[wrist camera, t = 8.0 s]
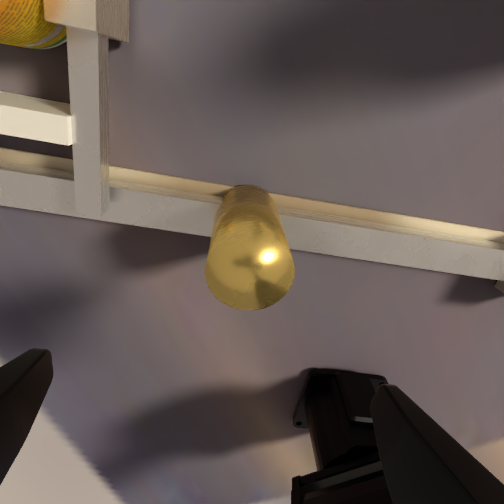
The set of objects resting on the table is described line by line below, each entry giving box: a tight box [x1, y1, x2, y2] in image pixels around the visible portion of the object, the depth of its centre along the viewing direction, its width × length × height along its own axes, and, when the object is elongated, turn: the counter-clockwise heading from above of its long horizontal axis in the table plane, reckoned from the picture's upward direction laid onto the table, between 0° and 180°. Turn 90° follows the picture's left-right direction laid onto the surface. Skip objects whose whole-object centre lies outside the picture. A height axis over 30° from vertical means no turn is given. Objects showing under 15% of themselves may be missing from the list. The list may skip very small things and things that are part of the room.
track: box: [0, 147, 504, 294], centre depth 20 cm, size 5×54×4 cm, turn 80°
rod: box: [0, 0, 504, 310], centre depth 15 cm, size 15×42×7 cm, turn 80°
